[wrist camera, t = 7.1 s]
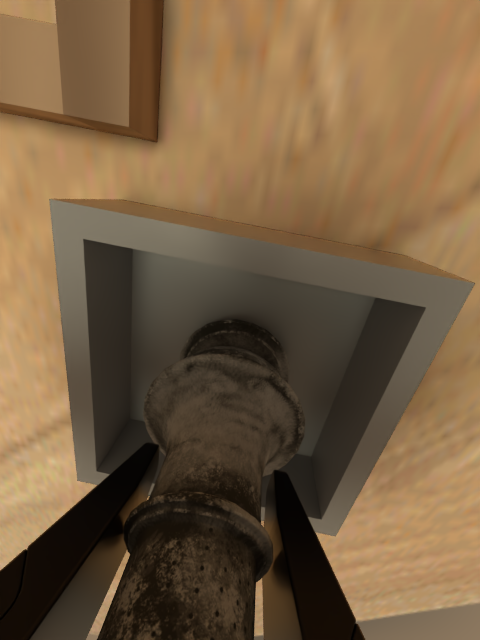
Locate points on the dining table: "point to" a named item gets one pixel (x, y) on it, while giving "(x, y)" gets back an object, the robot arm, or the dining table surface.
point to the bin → (252, 306)
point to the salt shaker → (207, 488)
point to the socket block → (86, 66)
